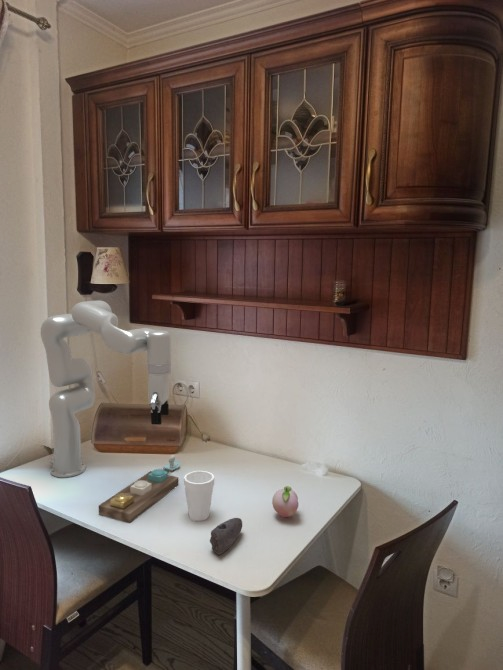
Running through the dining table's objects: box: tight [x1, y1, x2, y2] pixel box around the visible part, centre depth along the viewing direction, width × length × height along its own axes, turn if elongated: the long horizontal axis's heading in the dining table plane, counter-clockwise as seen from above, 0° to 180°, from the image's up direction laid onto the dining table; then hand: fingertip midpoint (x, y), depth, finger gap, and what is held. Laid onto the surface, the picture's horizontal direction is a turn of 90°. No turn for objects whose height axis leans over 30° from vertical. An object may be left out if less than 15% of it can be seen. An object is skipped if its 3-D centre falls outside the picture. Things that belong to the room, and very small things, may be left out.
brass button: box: [110, 493, 133, 510], centre depth 152 cm, size 5×5×4 cm
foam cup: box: [183, 470, 215, 522], centre depth 151 cm, size 10×9×13 cm
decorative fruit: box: [271, 485, 299, 518], centre depth 151 cm, size 9×8×10 cm
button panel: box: [98, 470, 180, 524], centre depth 161 cm, size 12×28×3 cm, turn 157°
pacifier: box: [161, 454, 181, 472], centre depth 185 cm, size 7×6×6 cm
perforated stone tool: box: [209, 517, 243, 556], centre depth 136 cm, size 15×5×7 cm, turn 148°
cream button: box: [130, 480, 152, 496], centre depth 161 cm, size 5×5×4 cm
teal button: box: [148, 468, 169, 483], centre depth 170 cm, size 5×5×4 cm
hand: (160, 419), depth 158 cm, fingers open, 9 cm apart
